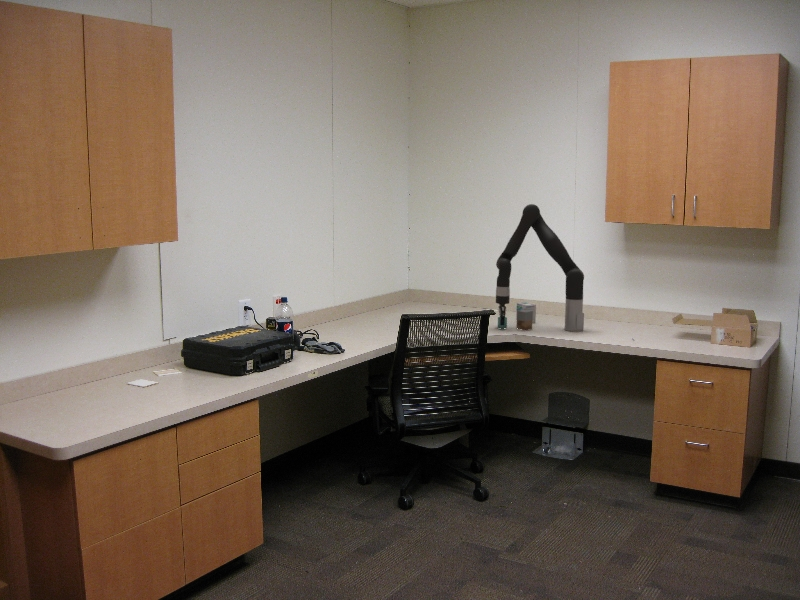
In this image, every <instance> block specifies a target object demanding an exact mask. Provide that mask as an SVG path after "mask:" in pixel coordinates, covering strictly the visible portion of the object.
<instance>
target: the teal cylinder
mask: <svg viewBox="0 0 800 600" xmlns="http://www.w3.org/2000/svg"><path fill="white" fill-rule="evenodd" d="M498 328H501V329H500V330H505V329H504V328H507V329H508V317H507V316H505V321H504V325H500V316H498V317H497V329H498Z"/></svg>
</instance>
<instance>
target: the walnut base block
mask: <svg viewBox="0 0 800 600" xmlns="http://www.w3.org/2000/svg"><path fill="white" fill-rule="evenodd" d="M517 328H518V329H517ZM516 329H517V330H520V329H522V330H521V331H529V330H528V329H530V330H533V323H532V320H530V321H520V320H517V321H516Z"/></svg>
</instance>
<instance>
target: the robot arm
mask: <svg viewBox="0 0 800 600" xmlns="http://www.w3.org/2000/svg"><path fill="white" fill-rule="evenodd" d="M531 228H532V230H534V232H535V234H536V236H537V238H538V239H539V241H540V243H541V245H542V247H543V248H544V249H545V251H546V253H548V256H550V257H551V258H552V260H553V261H555V263H556V264H557V265H558V266H559V267H560V269H561V270H562V272H563V273H564V275H565V303H564V304H565V306H564V307H565V308H564V309H565V311H564V330H565V331H566V330H567V332H575V331H576V333H578V332H583V331H584V328H585V327H584V326H585V325H584V324H585V313H584V312H583V308H584V280H585V275H584V272H583V271H582V270H581V269H580V268H579V266H578V265H577V264H576V263H575V262H574V260H573V259H572V257H571V256H570V254H569V252H568V250H567V249H566V247H565V245H564V243H563V242H562V241H561V239H560V238H559V236H558V235H557V234H556V233H555V232H554V231H553V229H551V227H550V226H549V225H548V224H547V223H546V221H545V219H544V218H543V216H542V214H541V211H540V208H539V206H538V205H536V204H533V203H531V204H527V205H526V206H525V207H524V208H523V209H522V215H521V218H520V220H519V223H518V225H517V226H516V228H515V231H514V232H513V233H512V235H511V237H510V238H509V240H508V241H507V244H506V246H505V248H504V250H503V251H502V252H501V254H500V255H499V257H498V258H497V261H496V264H495V265H496V268H497V269H498V276H497V278H496V289H495V303H496V304H498V305H499V306H498V315H499V317H500V325H504V321H505V317H506V314H507V313H506V312H507V306H506V305H508V304H510V297H511V296H510V294H511V290H510V282H511V281H510V278H511V273H512V263H511V261H512V260H513V258H515V257H516V256H517V254H518V253H519V250H520V249H521V247H522V245H523V243H524V240H525V238H526V236H527V235H528V232H529V231H530V229H531Z"/></svg>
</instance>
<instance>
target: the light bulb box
mask: <svg viewBox="0 0 800 600" xmlns="http://www.w3.org/2000/svg"><path fill="white" fill-rule="evenodd" d="M519 310H529V311H533V320H532V324H536V321H537V320H536V318H537V304H534V303H532V302H528V301H527V302H525V301H522V302H516V315H515V316H516V318H515V321H516V320H517V311H519Z"/></svg>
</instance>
